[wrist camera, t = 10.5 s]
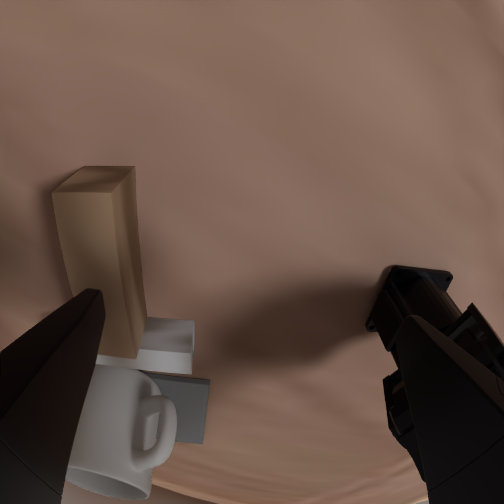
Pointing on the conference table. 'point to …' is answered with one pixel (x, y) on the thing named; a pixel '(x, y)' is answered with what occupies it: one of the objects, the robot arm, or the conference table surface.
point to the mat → (185, 405)
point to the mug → (121, 434)
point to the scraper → (116, 270)
